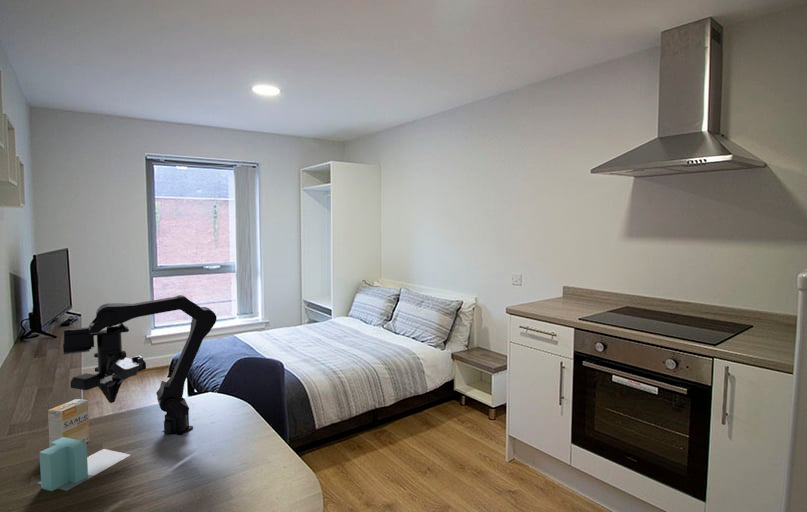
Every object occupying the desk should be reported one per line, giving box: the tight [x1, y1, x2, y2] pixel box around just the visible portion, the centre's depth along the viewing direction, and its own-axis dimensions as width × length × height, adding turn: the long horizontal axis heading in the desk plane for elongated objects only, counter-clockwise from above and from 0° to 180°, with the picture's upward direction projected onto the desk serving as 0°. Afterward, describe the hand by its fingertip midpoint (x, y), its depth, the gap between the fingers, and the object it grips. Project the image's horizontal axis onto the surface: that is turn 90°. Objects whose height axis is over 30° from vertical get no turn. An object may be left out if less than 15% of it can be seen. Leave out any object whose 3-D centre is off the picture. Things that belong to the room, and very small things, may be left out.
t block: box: [39, 437, 88, 492], centre depth 107 cm, size 7×8×9 cm
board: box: [37, 448, 131, 492], centre depth 113 cm, size 17×10×1 cm, turn 163°
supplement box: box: [47, 398, 90, 448], centre depth 123 cm, size 8×5×13 cm, turn 168°
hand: (111, 402), depth 124 cm, fingers closed
